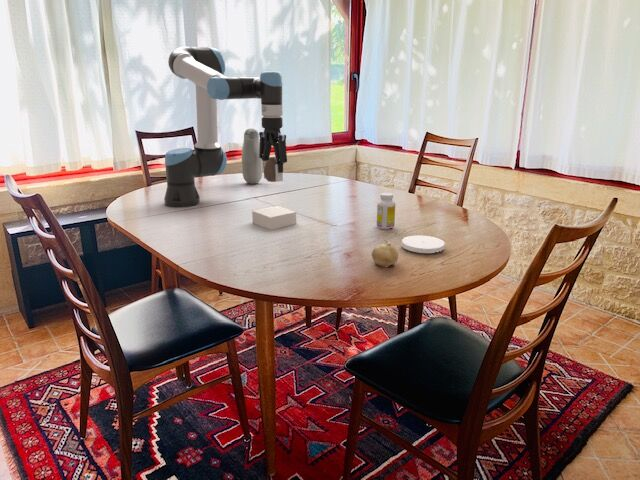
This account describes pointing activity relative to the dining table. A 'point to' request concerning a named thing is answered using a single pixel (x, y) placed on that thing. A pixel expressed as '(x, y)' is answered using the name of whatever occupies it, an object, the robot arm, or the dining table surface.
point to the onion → (385, 254)
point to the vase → (270, 170)
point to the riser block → (274, 217)
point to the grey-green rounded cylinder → (251, 157)
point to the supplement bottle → (386, 211)
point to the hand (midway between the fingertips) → (273, 179)
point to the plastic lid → (423, 244)
